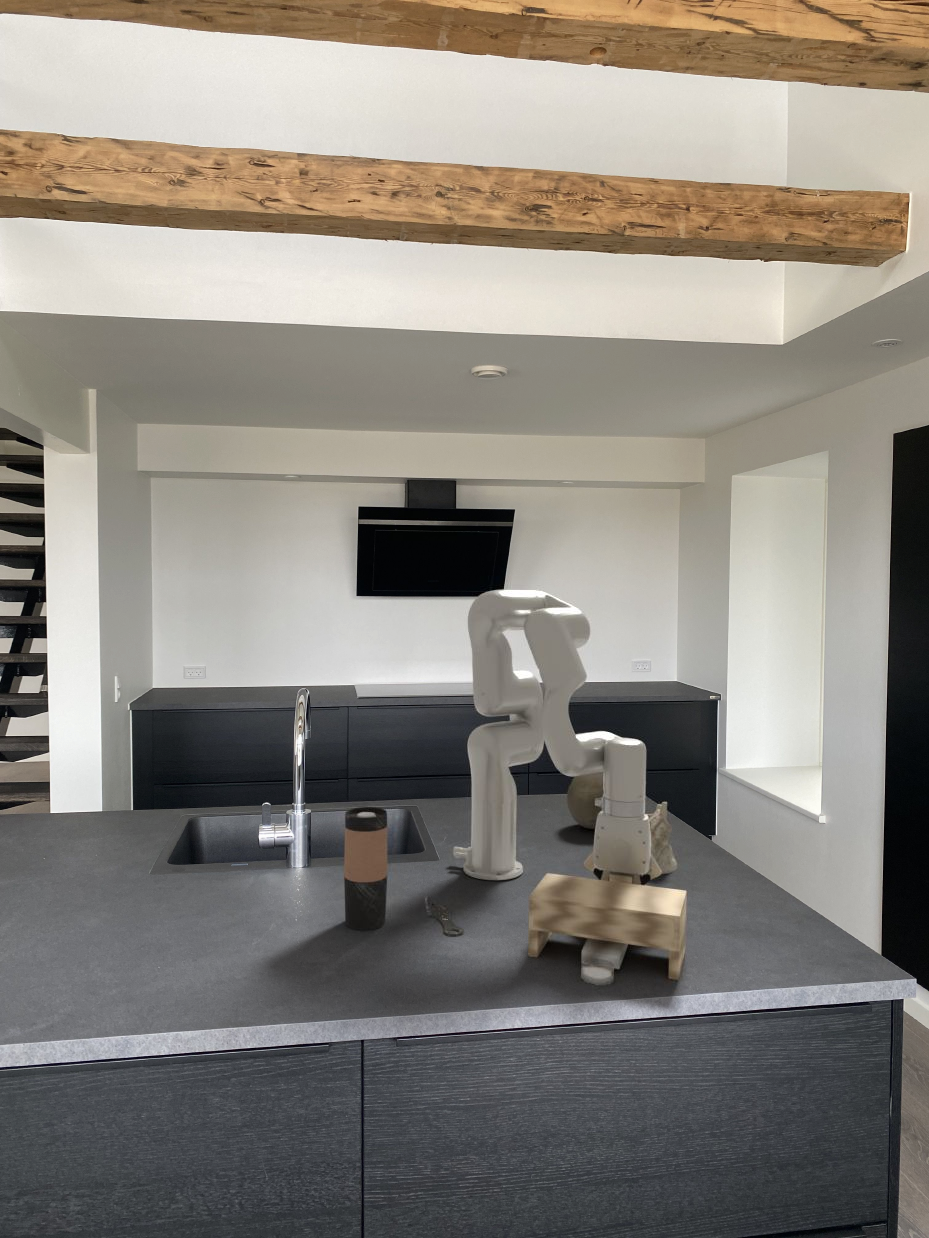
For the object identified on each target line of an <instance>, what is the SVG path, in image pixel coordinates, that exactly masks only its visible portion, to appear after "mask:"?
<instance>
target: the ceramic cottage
mask: <svg viewBox="0 0 929 1238" xmlns="http://www.w3.org/2000/svg"><path fill="white" fill-rule="evenodd" d="M667 808H668V802H667V801H662V802H661V803H658V804H657V805H656V808H655V811H654V812H653V813H645V814H646V815H648V818H649V824H650V832H651V849H652V855H653V857H654V859H655V860H656V862H657V864H658V865H659V867H660V869H661V870H662V872H661V875H665V874H671V873H674V872H675V871H676V870H677V869H678V863H677V860H676V859H675V853H674V852H673V848H672V846H671V844H670V841H671V834H672V831H673V829H672V826H671V825H670V824H669V822H668V820H667V816H668V809H667ZM649 871H651V868H649ZM649 871H648V872H649ZM643 875H644V874H642V876H643Z"/></svg>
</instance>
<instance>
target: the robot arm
mask: <svg viewBox="0 0 929 1238" xmlns="http://www.w3.org/2000/svg"><path fill="white" fill-rule="evenodd" d="M467 614H468V615H467V629H468V630H467V632H468V635H469V641H470V646H471V656H472V657H471V659H472V661H471V662H472V663H471V666H472V691H473V692H472V694H473V696H472V697H473V703H474V708H475V710H476V712H478V713H479V714H480V715H482V716H485V717H502V716H509V720H507V721H497V722H490V723H485V724H481V725H479V726H478V727H476V728H475V729H474V730H472V731H471V733H470V734H469V736H468V739H467V755H468V760H469V766H470V775H471V825H470V826H471V829H470V830H471V832H470V833H471V835H470V836H471V837H470V839H471V841H470V846H468V847H467V848H466V847H463V846H453V849H452V854H453V855H452V856H454V859H458V860H465V861H466V862H464V863H463V872H464V873H465V874H466V875H468V876H469V877H472V878H475V879H479V880H485V881H506V880H511V879H514V878H517V877H519V876H521V875H522V874H523V871H524V867H523V864H522V863H521V862H519V861H517V860H516V859H517V856H516V854H517V849H516V848H517V796H518V794H517V785H516V782H515V780H514V777H513V775H512V774H511V770H510V768H509V767H513V766H518V765H519V766H520V765H524V764H529V763H532V762H535V761H536V760H537V759H539V758H540V756H541V754H542V753H543V750H544V746H546V749H547V752H548V754H549V756H550V759H551V761H552V762H553V764H554V766H555V768H556V769H557V770H558V771H559V772H560V773H561V774H563V775H564V776H568V777H575V776H580V775H585V774H590V773H597V772H603V771H604V779H603V797H602V798H596V799H595V805H596V806H599V807H601V808H602V811H601V812H600V813H598V817H597V822H596V828H595V829H594V837H593V838H594V839H593V849H592V852H591V853H590V854H589V855H588V856H587V858H586V860H585V861H584V862H583V866H584V867H585V868H587V869H588V870H589V871H590V872H592V873H593V874H594V876H595V877H596V878H597V880H605V881H609V874H610V873H611V871H612V872H620V873H629V874H633V880H634V884H637V885H645V886H646V884H648V883H649V882H650V881H651V880H653V879H655V878H657V877H659V876H661V875H662V874H661V872H662V870H661V869H660V867H659V865H658V864H657V862H656V860H655V859H654V857H653V855H652V849H651V832H650V824H649V818H648V815H646V814H647V813H646V784H647V781H646V780H647V777H646V776H647V748H646V747H647V746H646V744H645V743H644V742H643V741H642V740H639V739H636V738H629V737H621V736H619V735H617V734H614V733H612V732H608V731H604V730H599V731H592V732H583V733H582V732H581V733H575V730H574V728H573V726H572V723H571V719H570V715H569V704H570V701H571V697H572V695H573V694H574V692H575V691H577V690H579V688H581V687H582V686H583V685H584V684H585V683H586V681H587V678H588V677H587V672H586V669H585V666H584V665H583V662H582V659H581V657H580V655H579V652H578V650H577V649H580V648H582V647H584V646H585V645H586V644H587V643H588V641H589V639H590V636H591V626H590V623H589V620H588V618H587V616H586V615H585V614H584V613H583V611H582V610H580V609H579V608H577V607H576V606H573V605H572V604H570V603H567V601H566V602H565V601H564V600H561V599H559V598H557V597H556V596H553V595H551V594H549V593H547V592H544V591H542V590H533V589H495V590H489V591H485V592H484V593H481V594H479V595H478V596H476V598H475V599H474V601H473V602H472V603H471V605H470V608H469V610H468V613H467ZM506 631H523V633H524V636H525V638H526V640H527V643H528V646H529V650H530V652H531V655H532V657H533V660H534V662H535V665H536V667H537V671H538V673H539V676H540V679H541V681H542V684H543V687H544V691H545V693H544V695H543V689H542V686H541V683H540V681H539V679H538V678H537V677H536V675H535V674H534V673H532V672H530V671H529V670H525V669H513V668H514V667H513V652H512V648H511V645H510V643H509V640H508V639H507V637H506V635H505V634H504V632H506ZM544 744H545V745H544ZM649 868H651V871H649ZM648 871H649V872H648ZM642 874H644V875H642Z"/></svg>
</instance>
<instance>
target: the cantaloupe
mask: <svg viewBox="0 0 929 1238" xmlns="http://www.w3.org/2000/svg"><path fill="white" fill-rule="evenodd" d="M603 779H604V771H603V772H597V773H590V774H585V775H580V776H573V778H572V781H570V782H571V783H570V785H569V786H568V788H567V789H568V790H567V793H566V794H567V795H566V803H567V807H568V810H569V812H570V815H571V818H572V819H573V821H575V822H576V823H577V824H578V825H580V826H581V827H583V828H585V829H590V830H595V828H596V822H597V817H598V813H600V812H601V811H602V808H601V807H599V806H596V805H595V799H596V798H602V797H603Z"/></svg>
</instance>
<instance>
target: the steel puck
mask: <svg viewBox="0 0 929 1238" xmlns="http://www.w3.org/2000/svg"><path fill="white" fill-rule="evenodd" d="M580 966H581V967H580V971H581V972H580V978H581V980H582V979H583V980H584V981H583V980H582V981H583V982H584V983H586V982H588V983H587V984H589V983H591V984H590V985H592V984H595V985H594V986H606V984H608V985H611V984H612V983H614V979H615V978H614V976H615V968H614V966H613V964H612V963H610V962H608V961H606V960H602V959H588V960H585V961H583V962H582V963H581V964H580ZM611 982H612V983H611Z"/></svg>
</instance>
